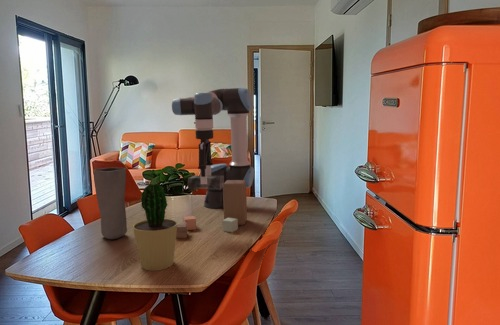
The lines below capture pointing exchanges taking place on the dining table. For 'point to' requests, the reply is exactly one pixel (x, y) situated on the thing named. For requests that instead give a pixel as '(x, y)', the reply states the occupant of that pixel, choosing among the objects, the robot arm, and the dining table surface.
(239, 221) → the wooden block
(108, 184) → the vase
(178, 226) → the walnut cube
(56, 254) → the dining table surface
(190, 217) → the terracotta cube
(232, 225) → the sage cube
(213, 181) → the stone block
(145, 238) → the potted cactus
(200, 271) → the dining table surface
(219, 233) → the dining table surface
